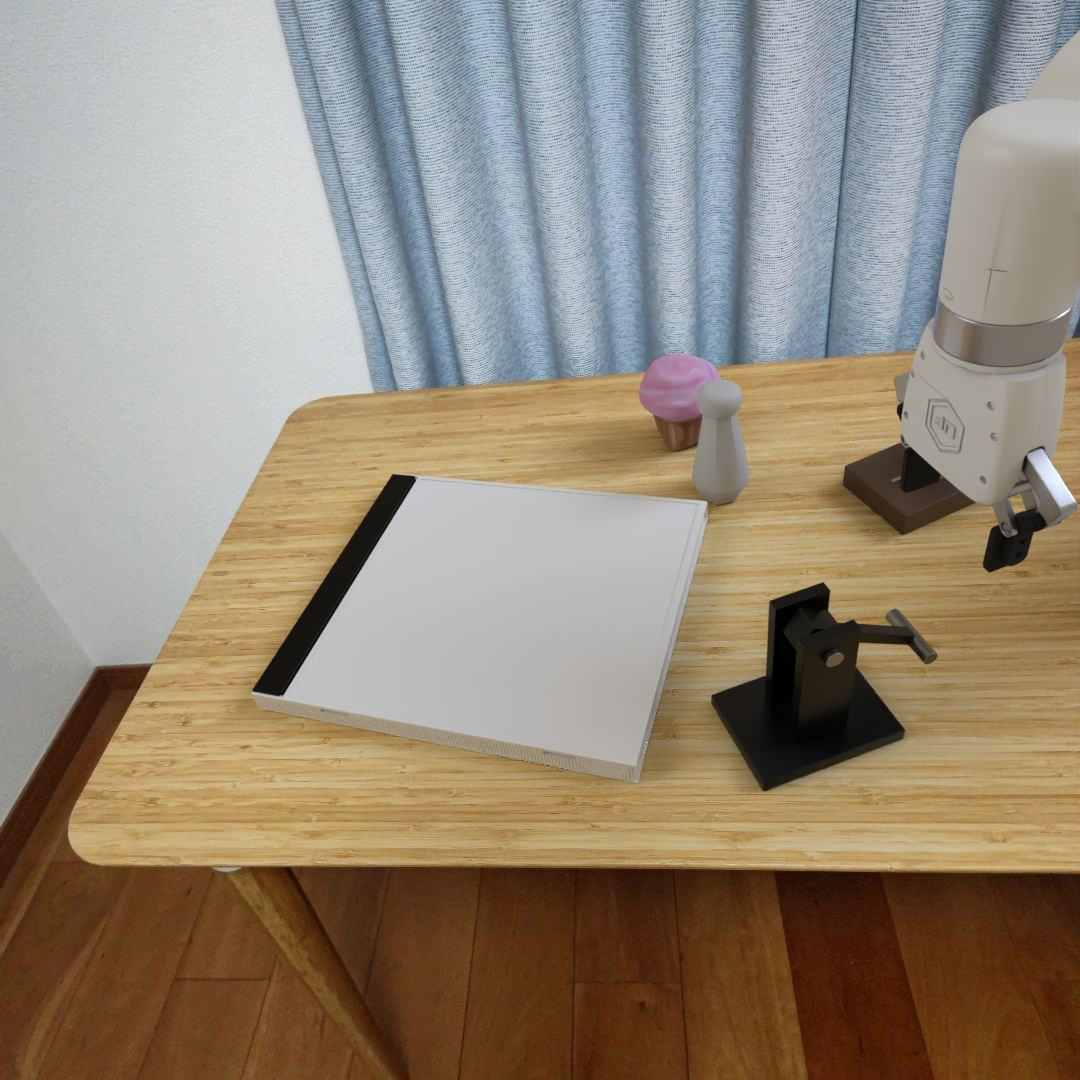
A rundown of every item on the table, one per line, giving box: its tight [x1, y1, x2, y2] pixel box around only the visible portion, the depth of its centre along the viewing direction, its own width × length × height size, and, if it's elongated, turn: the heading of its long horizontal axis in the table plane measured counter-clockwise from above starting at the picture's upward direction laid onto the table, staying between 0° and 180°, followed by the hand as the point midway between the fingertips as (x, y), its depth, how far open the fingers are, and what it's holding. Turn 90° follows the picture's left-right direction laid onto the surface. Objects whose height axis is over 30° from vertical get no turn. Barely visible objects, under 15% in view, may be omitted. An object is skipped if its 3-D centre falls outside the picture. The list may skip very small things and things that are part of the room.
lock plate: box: [842, 441, 976, 536], centre depth 89 cm, size 13×9×3 cm
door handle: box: [783, 608, 939, 665], centre depth 67 cm, size 12×5×2 cm, turn 108°
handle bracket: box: [710, 581, 906, 792], centre depth 68 cm, size 12×9×13 cm
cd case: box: [250, 472, 709, 784], centre depth 85 cm, size 35×2×31 cm
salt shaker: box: [691, 378, 751, 506], centre depth 89 cm, size 6×6×13 cm
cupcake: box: [638, 352, 722, 451], centre depth 98 cm, size 9×9×10 cm
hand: (959, 522), depth 67 cm, fingers open, 9 cm apart
